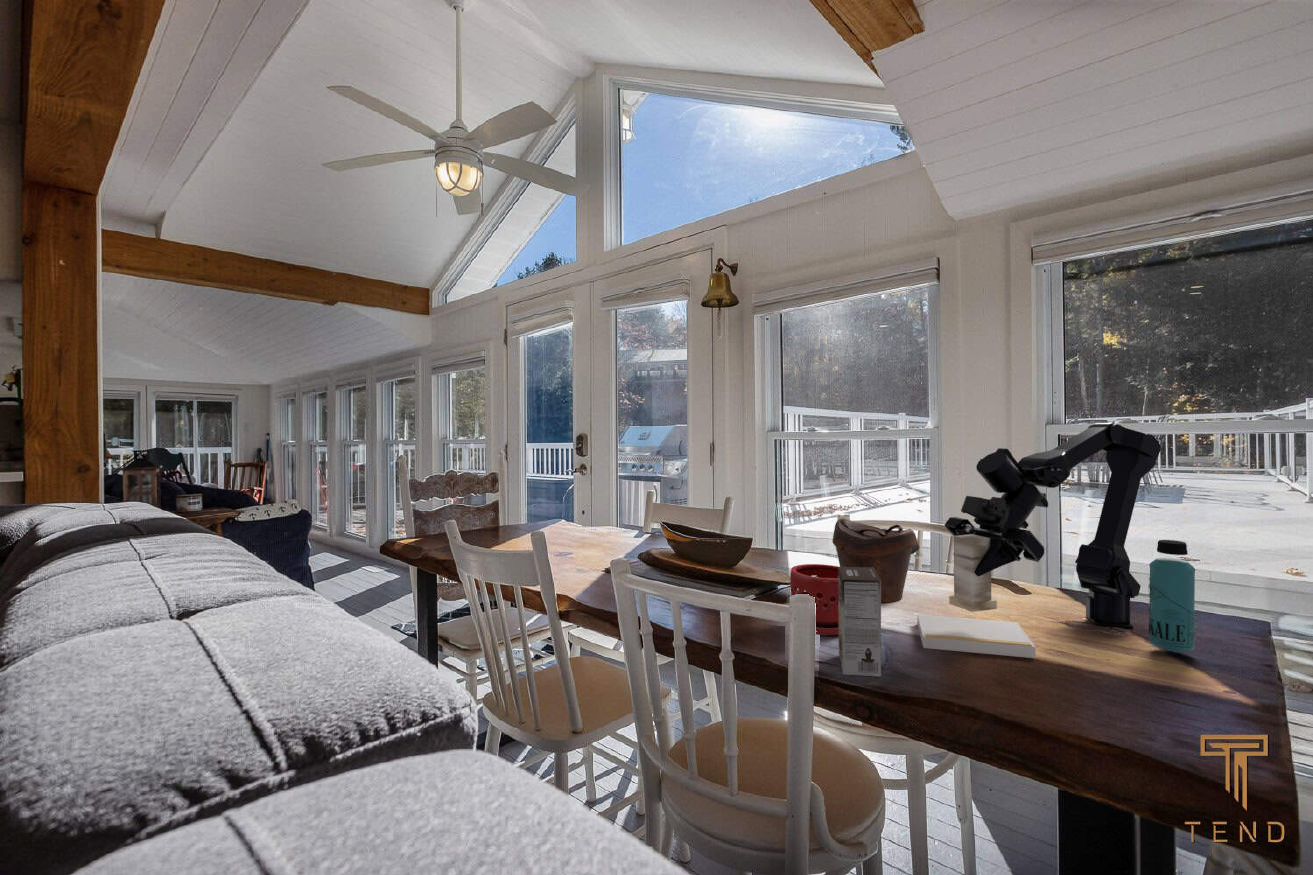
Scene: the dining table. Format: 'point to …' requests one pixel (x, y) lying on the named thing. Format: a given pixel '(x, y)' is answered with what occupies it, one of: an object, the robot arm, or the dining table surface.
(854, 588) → the coffee box
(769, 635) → the dining table surface
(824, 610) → the plant pot
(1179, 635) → the beverage bottle
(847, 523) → the brown tapered planter
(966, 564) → the white stepped pillar
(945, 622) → the white rectangular slab
